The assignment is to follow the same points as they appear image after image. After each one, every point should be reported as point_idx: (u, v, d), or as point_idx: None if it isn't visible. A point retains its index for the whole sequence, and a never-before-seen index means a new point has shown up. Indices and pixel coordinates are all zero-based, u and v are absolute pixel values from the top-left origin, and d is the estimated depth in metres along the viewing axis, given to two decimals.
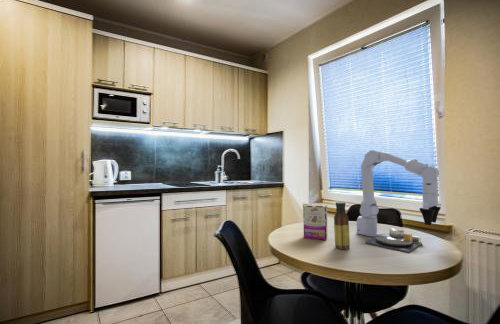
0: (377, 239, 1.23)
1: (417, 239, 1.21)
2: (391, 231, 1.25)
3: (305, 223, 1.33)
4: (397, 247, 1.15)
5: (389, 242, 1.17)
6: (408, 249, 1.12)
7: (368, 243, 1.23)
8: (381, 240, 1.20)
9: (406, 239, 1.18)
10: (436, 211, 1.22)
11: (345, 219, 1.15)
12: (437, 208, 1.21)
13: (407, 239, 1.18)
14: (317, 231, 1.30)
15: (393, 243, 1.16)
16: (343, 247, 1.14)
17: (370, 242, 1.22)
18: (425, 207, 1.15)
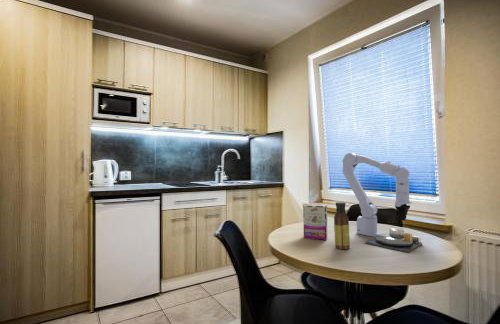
0: (377, 239, 1.23)
1: (417, 239, 1.21)
2: (391, 231, 1.25)
3: (305, 223, 1.33)
4: (397, 247, 1.15)
5: (389, 242, 1.17)
6: (408, 249, 1.12)
7: (368, 243, 1.23)
8: (381, 240, 1.20)
9: (406, 239, 1.18)
10: None
11: (345, 219, 1.15)
12: None
13: (407, 239, 1.18)
14: (317, 231, 1.30)
15: (393, 243, 1.16)
16: (343, 247, 1.14)
17: (370, 242, 1.22)
18: (397, 205, 1.26)
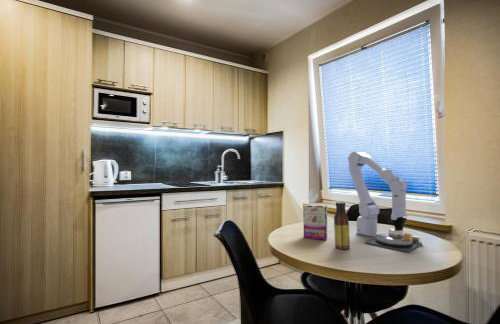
0: (377, 239, 1.23)
1: (417, 239, 1.21)
2: (390, 231, 1.24)
3: (305, 223, 1.33)
4: (397, 247, 1.15)
5: (389, 242, 1.17)
6: (408, 249, 1.12)
7: (368, 243, 1.23)
8: (381, 240, 1.20)
9: (406, 239, 1.18)
10: None
11: (345, 219, 1.15)
12: None
13: (407, 239, 1.18)
14: (317, 231, 1.30)
15: (393, 243, 1.16)
16: (343, 247, 1.14)
17: (370, 242, 1.22)
18: (393, 218, 1.23)
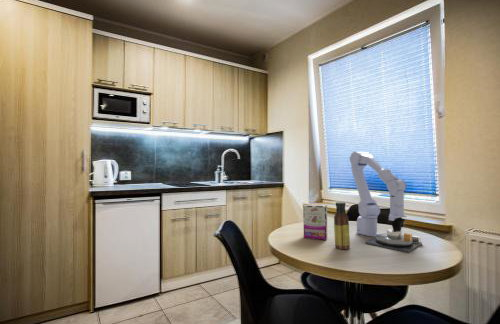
0: (377, 239, 1.23)
1: (417, 239, 1.21)
2: (388, 232, 1.22)
3: (305, 223, 1.33)
4: (397, 247, 1.15)
5: (389, 242, 1.17)
6: (408, 249, 1.12)
7: (368, 243, 1.23)
8: (381, 240, 1.20)
9: (406, 239, 1.18)
10: None
11: (345, 219, 1.15)
12: None
13: (407, 239, 1.18)
14: (317, 231, 1.30)
15: (393, 243, 1.16)
16: (343, 247, 1.14)
17: (370, 242, 1.22)
18: (391, 219, 1.21)
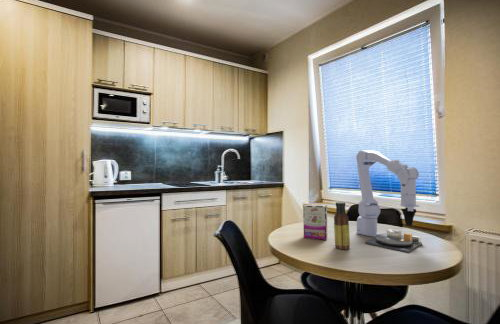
0: (377, 239, 1.23)
1: (417, 239, 1.21)
2: (388, 232, 1.22)
3: (305, 223, 1.33)
4: (397, 247, 1.15)
5: (389, 242, 1.17)
6: (408, 249, 1.12)
7: (368, 243, 1.23)
8: (381, 240, 1.20)
9: (406, 239, 1.18)
10: None
11: (345, 219, 1.15)
12: (413, 210, 1.18)
13: (407, 239, 1.18)
14: (317, 231, 1.30)
15: (393, 243, 1.16)
16: (343, 247, 1.14)
17: (370, 242, 1.22)
18: (410, 209, 1.12)
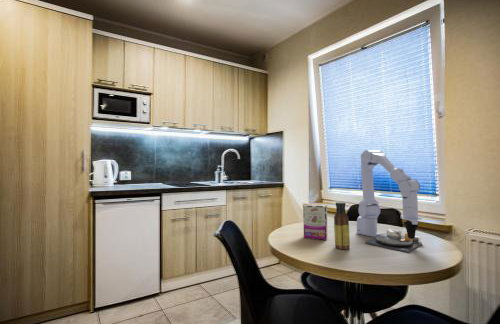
0: (378, 240, 1.22)
1: (417, 239, 1.21)
2: (389, 233, 1.22)
3: (305, 223, 1.33)
4: (397, 247, 1.15)
5: (392, 242, 1.17)
6: (408, 249, 1.12)
7: (368, 243, 1.23)
8: (383, 241, 1.19)
9: (407, 239, 1.18)
10: None
11: (345, 219, 1.15)
12: None
13: (408, 239, 1.18)
14: (317, 231, 1.30)
15: (396, 243, 1.16)
16: (343, 247, 1.14)
17: (370, 242, 1.22)
18: (415, 222, 1.11)
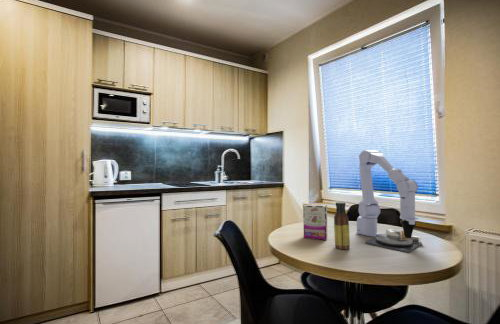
0: (391, 243, 1.17)
1: (417, 239, 1.21)
2: (394, 233, 1.20)
3: (305, 223, 1.33)
4: (397, 247, 1.15)
5: (406, 243, 1.16)
6: (408, 249, 1.12)
7: (368, 243, 1.23)
8: (398, 243, 1.16)
9: None
10: None
11: (345, 219, 1.15)
12: None
13: None
14: (317, 231, 1.30)
15: (409, 243, 1.16)
16: (343, 247, 1.14)
17: (370, 242, 1.22)
18: (412, 223, 1.13)
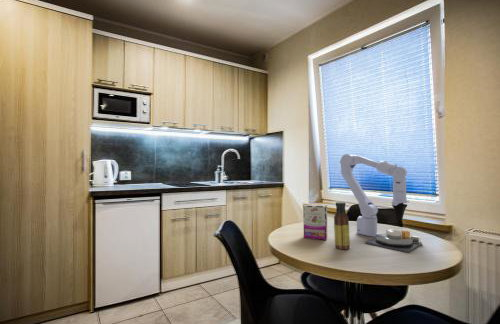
0: (391, 243, 1.17)
1: (417, 239, 1.21)
2: (394, 233, 1.20)
3: (305, 223, 1.33)
4: (397, 247, 1.15)
5: (406, 243, 1.16)
6: (408, 249, 1.12)
7: (368, 243, 1.23)
8: (398, 243, 1.16)
9: (406, 236, 1.22)
10: None
11: (345, 219, 1.15)
12: None
13: (407, 236, 1.22)
14: (317, 231, 1.30)
15: (409, 243, 1.16)
16: (343, 247, 1.14)
17: (370, 242, 1.22)
18: (394, 204, 1.26)
